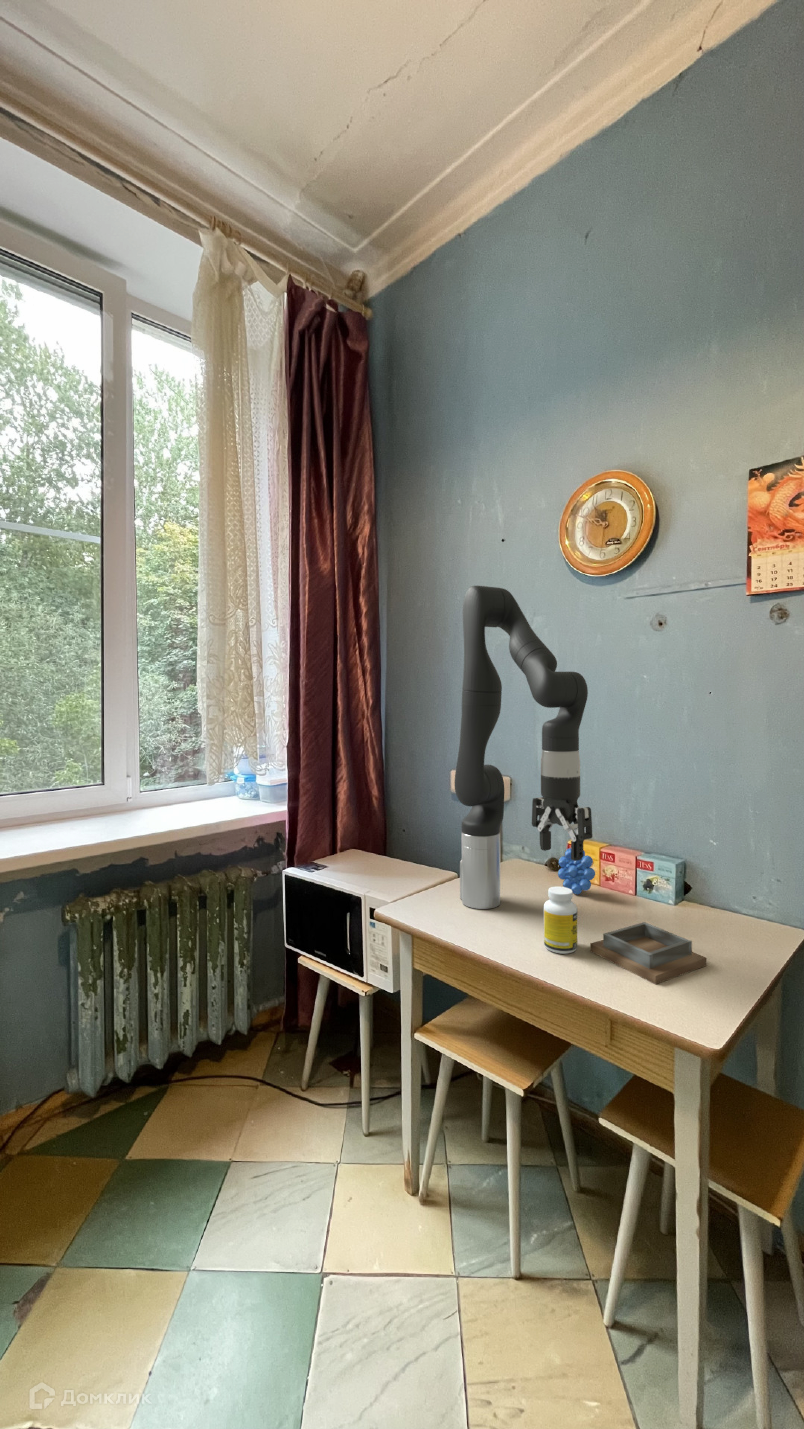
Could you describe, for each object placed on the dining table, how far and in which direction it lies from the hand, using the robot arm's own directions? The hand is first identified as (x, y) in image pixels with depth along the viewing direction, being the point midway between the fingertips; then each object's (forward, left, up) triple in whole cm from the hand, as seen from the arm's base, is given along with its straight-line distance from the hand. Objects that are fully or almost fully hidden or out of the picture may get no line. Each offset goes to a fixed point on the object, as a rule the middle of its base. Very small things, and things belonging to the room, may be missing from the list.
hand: (560, 854), depth 116 cm
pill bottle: (0, 0, -19) cm, 19 cm away
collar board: (+11, +11, -19) cm, 25 cm away
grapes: (-21, +26, -19) cm, 38 cm away
